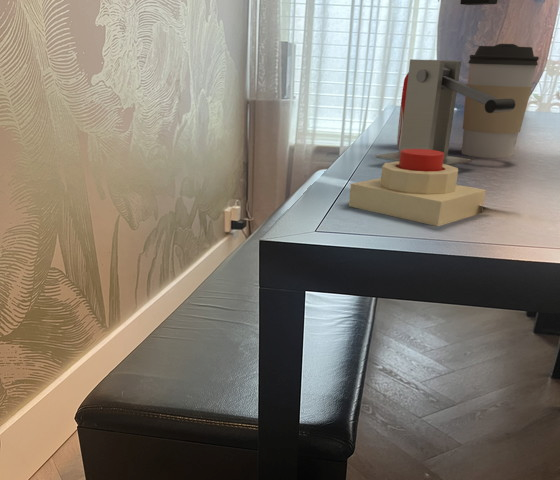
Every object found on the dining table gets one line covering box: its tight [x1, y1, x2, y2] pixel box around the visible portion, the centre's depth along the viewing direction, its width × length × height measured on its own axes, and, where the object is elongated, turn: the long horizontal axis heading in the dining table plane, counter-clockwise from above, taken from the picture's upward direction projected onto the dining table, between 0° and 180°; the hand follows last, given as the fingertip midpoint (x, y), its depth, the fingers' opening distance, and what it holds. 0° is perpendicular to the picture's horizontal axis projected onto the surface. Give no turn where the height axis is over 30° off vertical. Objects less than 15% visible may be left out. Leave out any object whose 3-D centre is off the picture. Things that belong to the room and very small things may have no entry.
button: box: [399, 149, 444, 171], centre depth 57 cm, size 4×4×2 cm
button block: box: [348, 161, 487, 227], centre depth 58 cm, size 10×8×4 cm
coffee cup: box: [461, 43, 540, 159], centre depth 84 cm, size 9×9×15 cm
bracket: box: [374, 58, 472, 166], centre depth 79 cm, size 10×8×13 cm
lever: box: [441, 67, 515, 113], centre depth 75 cm, size 12×5×2 cm, turn 45°
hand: (478, 3), depth 53 cm, fingers closed
